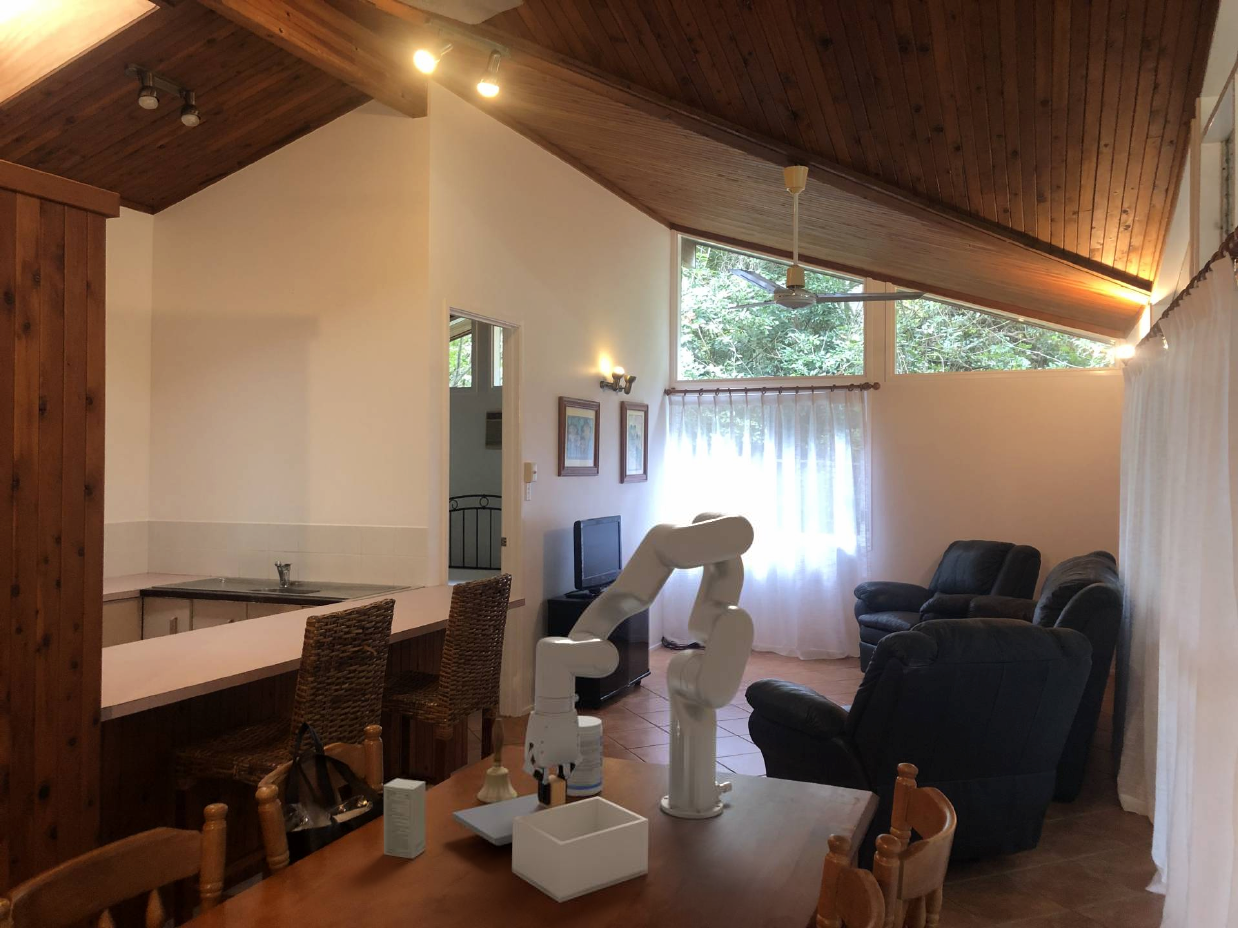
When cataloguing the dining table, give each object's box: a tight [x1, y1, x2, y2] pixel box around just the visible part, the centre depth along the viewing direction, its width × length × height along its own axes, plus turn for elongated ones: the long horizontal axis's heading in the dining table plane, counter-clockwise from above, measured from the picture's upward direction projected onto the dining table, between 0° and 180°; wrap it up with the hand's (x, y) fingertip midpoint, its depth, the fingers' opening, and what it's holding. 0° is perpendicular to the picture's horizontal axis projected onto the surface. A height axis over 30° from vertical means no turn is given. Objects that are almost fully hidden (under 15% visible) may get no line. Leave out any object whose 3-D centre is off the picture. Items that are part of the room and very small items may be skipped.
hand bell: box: [476, 718, 518, 804], centre depth 191 cm, size 8×8×16 cm
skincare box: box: [383, 777, 427, 860], centre depth 162 cm, size 6×4×12 cm
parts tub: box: [511, 796, 649, 904], centre depth 154 cm, size 18×14×9 cm
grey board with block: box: [451, 774, 566, 847], centre depth 169 cm, size 19×15×7 cm
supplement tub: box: [566, 715, 603, 798], centre depth 195 cm, size 10×10×15 cm
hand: (552, 800), depth 174 cm, fingers closed on grey board with block, 3 cm apart
